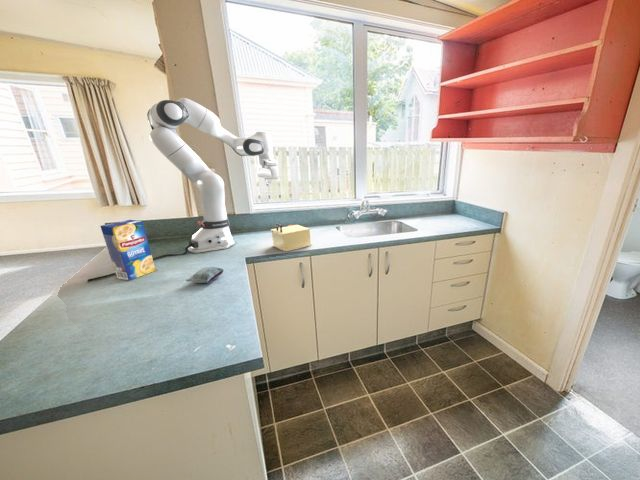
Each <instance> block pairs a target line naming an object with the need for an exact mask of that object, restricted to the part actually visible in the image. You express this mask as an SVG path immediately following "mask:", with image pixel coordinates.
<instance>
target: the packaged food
mask: <svg viewBox="0 0 640 480" xmlns="http://www.w3.org/2000/svg"><path fill="white" fill-rule="evenodd" d="M223 272H224V269H223V268H221V267H217V266H206V267H202V268H201V269H199V270H198V271H196V272H195V273H194V274H192V275H191V276H190V277H189V278H188V279H185V281H186V282H189V283H190V282H191V283H196V284H197V283H198V284H210V283H212V282H213V281H214V280H216V279H217V278H218V277H220V276H221V275H222V274H223Z"/></svg>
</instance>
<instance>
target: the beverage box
mask: <svg viewBox="0 0 640 480" xmlns="http://www.w3.org/2000/svg"><path fill="white" fill-rule="evenodd" d="M99 227H100V229H101V233H102V235H103V236H102V237H103V238H104V242H105V244H106V248H107V251H108V254H109V257H110V260H111V264H112V266H113V270H114V273H116V275H115V276H116V278H117V279H119V280H123V281H124V280H125V281H132V280H135V279H138V278H140V277H142V276H145V275H148V274H150V273H153V272H155V271H157V270H156V266H155V263H154V260H153V258H154V257H153V256H152V251H151V247H150V244H149V239H148V236H147V233H146V230H145V226H144V222H143V220H136V219H128V220H126V219H125V220H122V221H117V222H112V223H107V224H103V225H99Z"/></svg>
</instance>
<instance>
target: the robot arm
mask: <svg viewBox="0 0 640 480" xmlns="http://www.w3.org/2000/svg"><path fill="white" fill-rule="evenodd" d="M146 117H147V122H148V124H149V126H150V128H151V131H150V133H149V140H150V141H151V143H152V144H153V145H154V146H155V147H156V149H157V150H158V151H159V152H160V153H161V154H162V155H163V156H164V157H165V158H166V159H167V160H168V161H169V162H170V163H172V165H173V166H175V168H176V169H178V170H179V171H180V172H181V173H182V174H183V175H184V176H185V177H186V178H187V179H188V180H189V181H190V182H191V183H192V184H193V185H194V186H195V187H197V188H198V189H199V194H200V206H201V212H202V217H203V220H202V221H201V220H198V221H197V225H198V226H200V228H199V230H197V231H196V232H195V233H194V234H192V236H191V240H188V245H187V246H186V247H185V249H184V250H185V252H183V253H167V254H162V255H158V256H155V257H152V258H153V261H154V260H158V259H160V258H165V257H175V256H183V255H186V254H188V251H189V252H190V253H193V254H199V253H205V252H206V253H207V252H212V251H213V252H214V251H219V250H225V249H226V250H227V249H229V248H230V247H232V246H233V245H235V243H236V242H235V240H234V239H233V235H232V233H231V229H230V228H231V225H230V220H229V218H228V214H227V208H226V194H225V193H226V191H225V182H224V179H223V178H222V177H221V176H220V175H219V174H218V173H215V172H214V171H213V170H212V169H210V168H209V166H208V165H207V164H206V163H205V162H204V161H203V160H202V158H201V157H200V156H199V155H198V154H197V153H196V152H195V151H194V150H193V149H192V148H191V146H189V145H188V143H186V142H185V141H184V140H183V139H182V138H181V137H180V136H179V134H178V132H177V130H176V129H177V128H178V127H180V125H181V126H182V125H183V123H186V124H188V125H190V126H191V127H193V128H194V129H197V130H198V131H201V132H203V133H205V134H207V135H209V136H212V137H215V139H217V140H220V142H223V143H224V144H226V145H227V146H229V147H230V148H231V149H232V150H233V151H234V153H235V154H236V155H238V156H241V157H256V156H257V167H256V169H257V172H256V173H257V176H258V177H259V178H264V182H265V185H266V186H268V187H271V186H272V180H278V179H279V169H278V166H279V163H278V161H277V160H276V159H275V157H274V154H273V141H272V138H271V135H270V134H269V133H267V132H263V131H256V132H255V133H254V134H253V135H251V136H248V137H238V136H236V135H234V134H233V133H231V132H229V131H228V130H227V129H225V128H224V127H222V125H221V120H220V118H219V117H218V116H217V115H216V114H215V113H214V112H213V111H212V110H210V109H208V108H206V107H205V106H203V105H202V104H200V103H198V102H196V101H194V100H192V99H190V98H188V97H180V98H178V99H177V100H171V99H163V100H160V101H159V102H158V103H155V104H154V105H152V106H151V107H150V109H149V110H148V111H147V113H146ZM112 276H113V277H114V276H116V273H115V272H112V273H109V274H105V275H101V276H96V277H92V278H88V279H87V282H92V281H97V280H101V279H104V278H105V279H106V278H110V277H112Z"/></svg>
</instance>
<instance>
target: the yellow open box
mask: <svg viewBox="0 0 640 480" xmlns="http://www.w3.org/2000/svg"><path fill="white" fill-rule="evenodd" d="M271 236H272V243H273V247H275V248H277V249H278V250H281V251H283V252H289V251H294V250H298V249H302V248H306V247H310V246H312V245H311V230H308V231H303V232H298V233H293V234H288V235H283V236H281V235H279V234H277V233H274V232H272V231H271Z"/></svg>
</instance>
